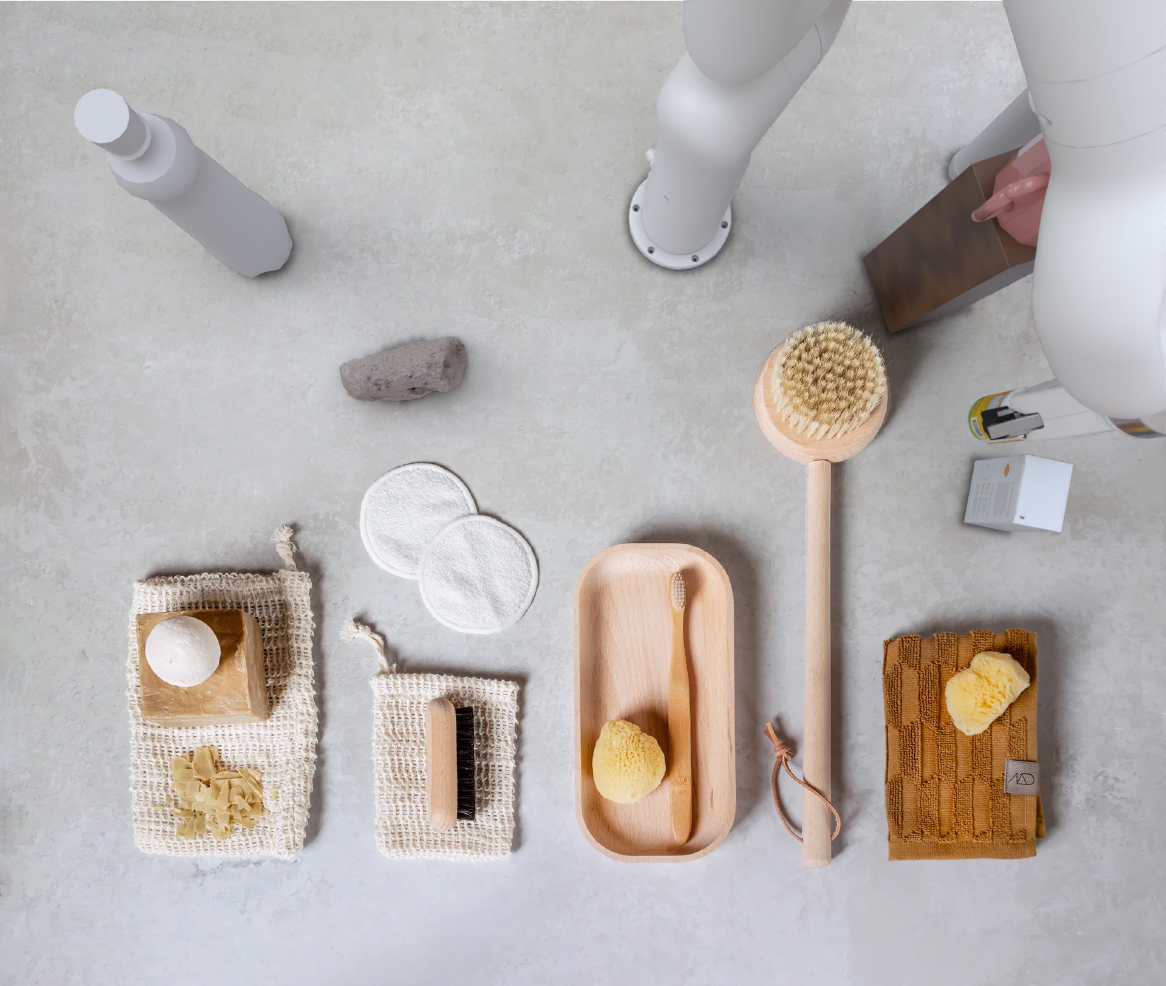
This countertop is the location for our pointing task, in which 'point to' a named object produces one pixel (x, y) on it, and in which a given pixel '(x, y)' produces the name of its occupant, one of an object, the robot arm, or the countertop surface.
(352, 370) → the pumice stone
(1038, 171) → the pink octagonal mug
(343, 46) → the countertop surface
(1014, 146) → the bottle
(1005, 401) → the supplement bottle
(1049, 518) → the small box
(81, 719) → the countertop surface
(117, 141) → the bottle
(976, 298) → the stand
